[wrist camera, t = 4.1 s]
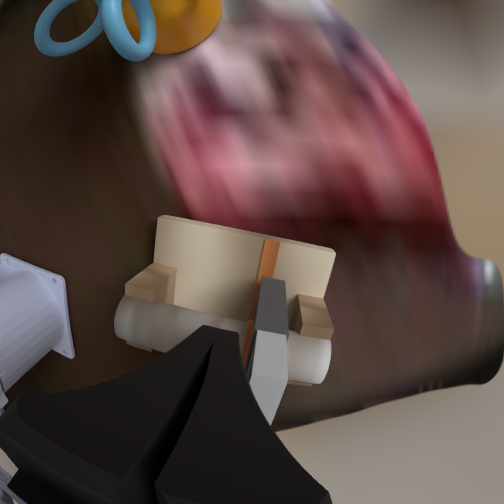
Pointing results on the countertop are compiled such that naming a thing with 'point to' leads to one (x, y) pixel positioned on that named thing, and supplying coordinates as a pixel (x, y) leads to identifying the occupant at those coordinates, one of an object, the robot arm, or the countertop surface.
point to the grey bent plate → (269, 347)
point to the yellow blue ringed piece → (137, 26)
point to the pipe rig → (228, 291)
